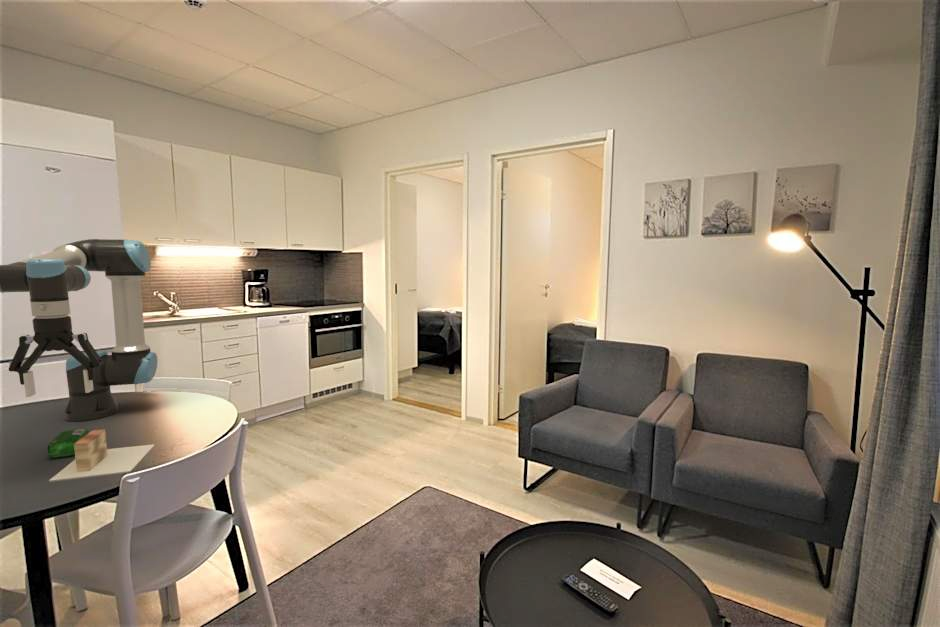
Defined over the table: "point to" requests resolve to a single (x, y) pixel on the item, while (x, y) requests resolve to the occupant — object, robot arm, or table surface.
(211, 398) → the table surface
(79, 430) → the snack package
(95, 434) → the oak slab
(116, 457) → the cream board
